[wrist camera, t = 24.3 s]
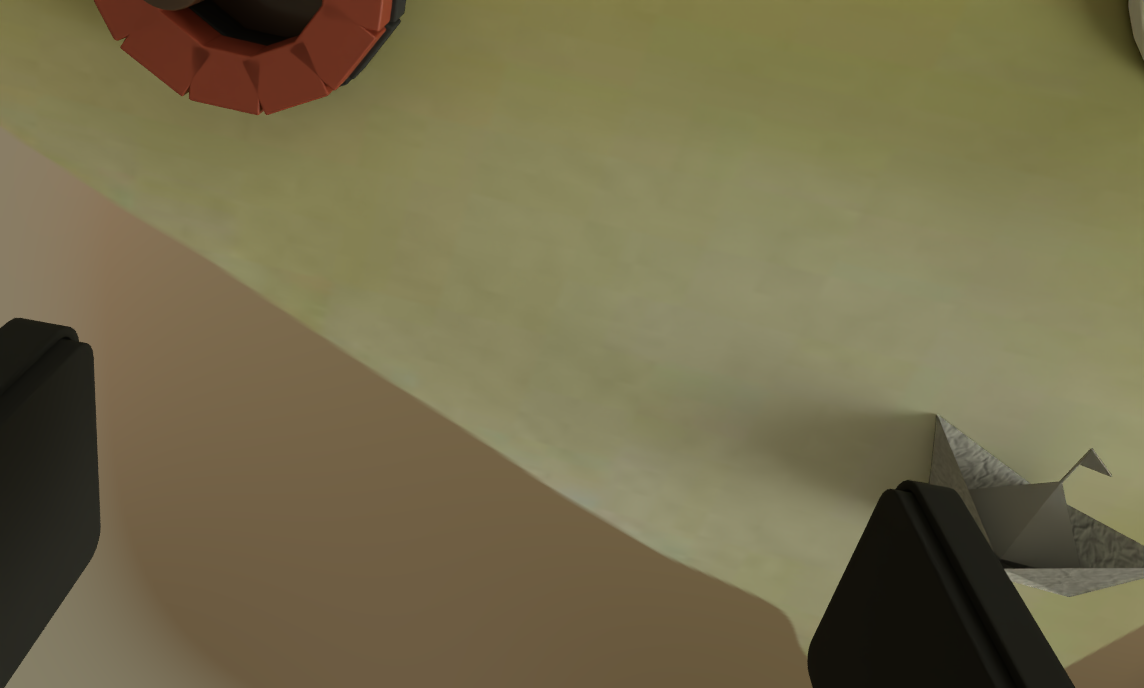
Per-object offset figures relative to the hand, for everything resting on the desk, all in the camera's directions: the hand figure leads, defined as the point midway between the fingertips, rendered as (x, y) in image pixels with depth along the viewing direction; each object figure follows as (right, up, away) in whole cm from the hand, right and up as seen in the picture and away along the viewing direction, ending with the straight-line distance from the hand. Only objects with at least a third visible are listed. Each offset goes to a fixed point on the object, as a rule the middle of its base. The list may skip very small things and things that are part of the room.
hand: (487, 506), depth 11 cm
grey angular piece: (+23, -5, +35) cm, 42 cm away
